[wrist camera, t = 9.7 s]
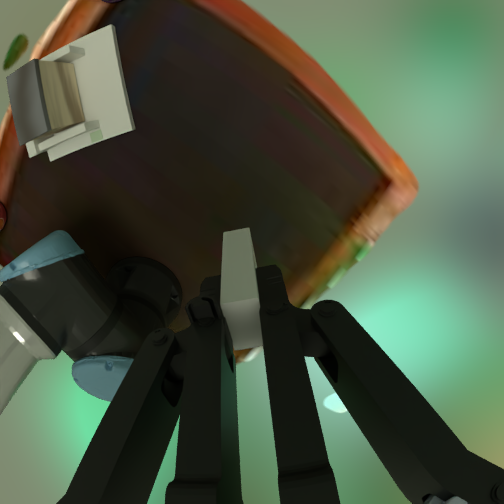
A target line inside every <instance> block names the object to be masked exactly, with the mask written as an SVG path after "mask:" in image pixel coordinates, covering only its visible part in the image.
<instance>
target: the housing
mask: <svg viewBox="0 0 504 504" xmlns="http://www.w3.org/2000/svg"><path fill="white" fill-rule="evenodd" d="M41 60H43V61H54V62H63V63H71V64H74V70H75V76H76V81H77V86H78V91H79V96H80V101H81V105H82V110H83V114H84V118H85V121H84V122H81V123H79V124H77V125H74V126H72V127H70V128H68V129H65V130H63V131H61V132H58V133H55V134H51V135H48V136H45V137H42V138H39V139H36V140H33V141H30V142H27V143H26V146H27V150H28V153H29V157H33V156H35V155H37V154H40V153H42V152H45V151H47V152H48V155H49V159H50V162H51V161H53V160H55V159H57V158H60V157H62V156H64V155H67V154H69V153H71V152H74V151H76V150H79V149H81V148H84V147H86V146H89V145H92V144H94V143H97V142H100V141H102V140H105V139H108V138H111V137H114V136H117V135H120V134H123V133H126V132H129V131H132V130H135V125H134V121H133V116H132V112H131V108H130V103H129V99H128V94H127V90H126V85H125V80H124V75H123V70H122V65H121V60H120V54H119V49H118V43H117V37H116V31H115V26H113V25H109V26H106V27H104V28H102V29H99V30H97V31H95V32H93V33H90V34H88V35H86V36H84V37H82V38H80V39H78V40H76V41H74V42H72V43H70V44H68V45H66V46H64V47H62V48H60V49H58V50H56V51H55V52H53V53H51V54H49V55H48V56H46V57H44V58H42V59H41Z"/></svg>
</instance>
